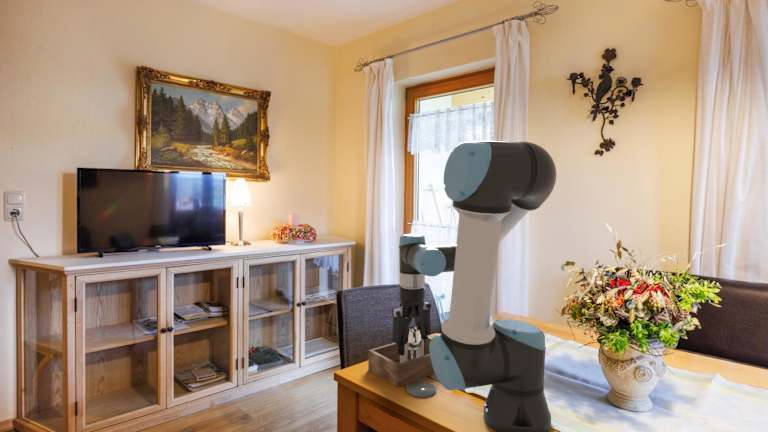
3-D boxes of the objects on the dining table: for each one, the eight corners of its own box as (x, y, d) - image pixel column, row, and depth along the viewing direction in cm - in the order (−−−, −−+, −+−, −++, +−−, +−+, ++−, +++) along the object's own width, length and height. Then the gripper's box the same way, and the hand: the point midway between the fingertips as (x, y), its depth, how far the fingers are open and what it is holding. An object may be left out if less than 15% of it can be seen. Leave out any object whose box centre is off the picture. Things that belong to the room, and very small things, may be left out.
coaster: (442, 391, 116) (442, 389, 116) (420, 400, 111) (420, 398, 111) (422, 380, 122) (422, 378, 122) (400, 388, 117) (400, 386, 117)
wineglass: (424, 366, 131) (425, 328, 130) (415, 373, 126) (415, 333, 125) (408, 362, 134) (408, 324, 133) (398, 369, 129) (398, 330, 128)
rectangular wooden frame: (454, 366, 132) (454, 347, 131) (397, 387, 118) (398, 366, 118) (423, 351, 143) (423, 334, 142) (368, 369, 129) (368, 350, 129)
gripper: (426, 279, 137) (426, 350, 139) (379, 288, 126) (379, 366, 127) (443, 283, 131) (443, 358, 133) (395, 293, 120) (395, 375, 122)
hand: (411, 361), depth 130 cm, fingers closed on wineglass, 6 cm apart
